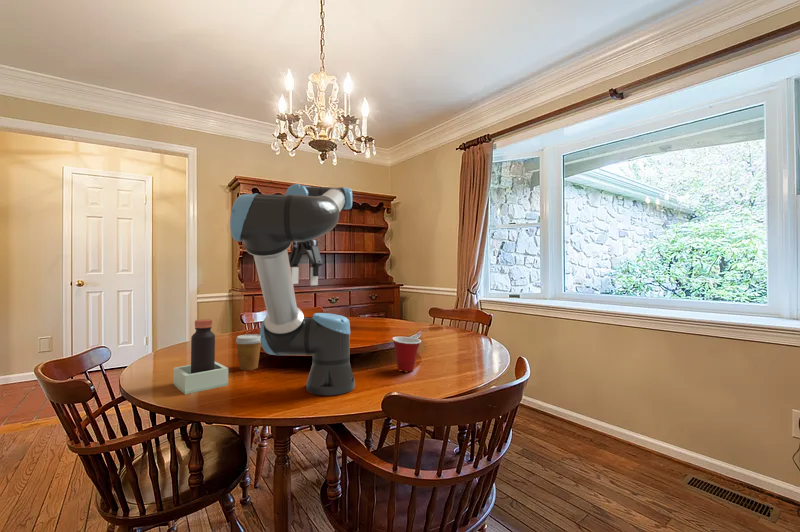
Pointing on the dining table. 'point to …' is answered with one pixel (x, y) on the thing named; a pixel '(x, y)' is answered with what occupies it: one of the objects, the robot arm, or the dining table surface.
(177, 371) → the open rectangular box
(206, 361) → the vinegar
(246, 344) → the disposable coffee cup
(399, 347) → the plastic cup
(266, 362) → the dining table surface
